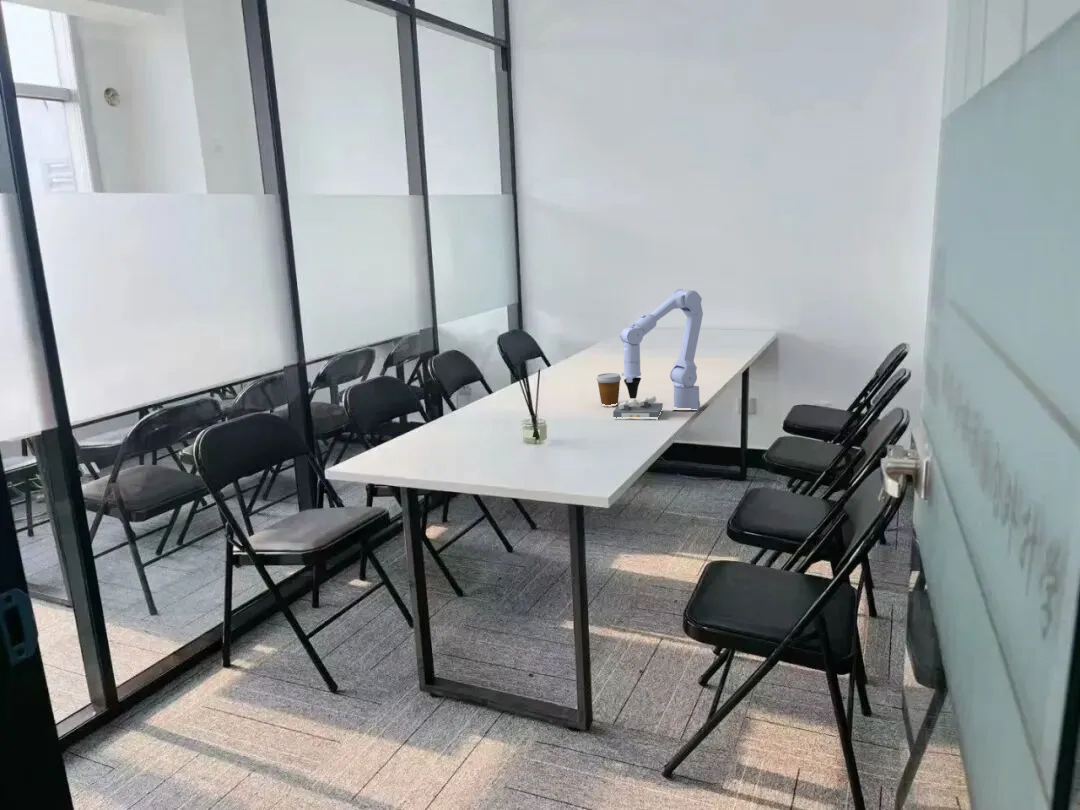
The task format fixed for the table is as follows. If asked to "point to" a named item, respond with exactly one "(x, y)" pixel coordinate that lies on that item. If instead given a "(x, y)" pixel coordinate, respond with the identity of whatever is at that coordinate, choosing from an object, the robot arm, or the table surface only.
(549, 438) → the table surface
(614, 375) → the disposable coffee cup
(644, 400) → the rocker
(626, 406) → the console
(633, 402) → the rocker
